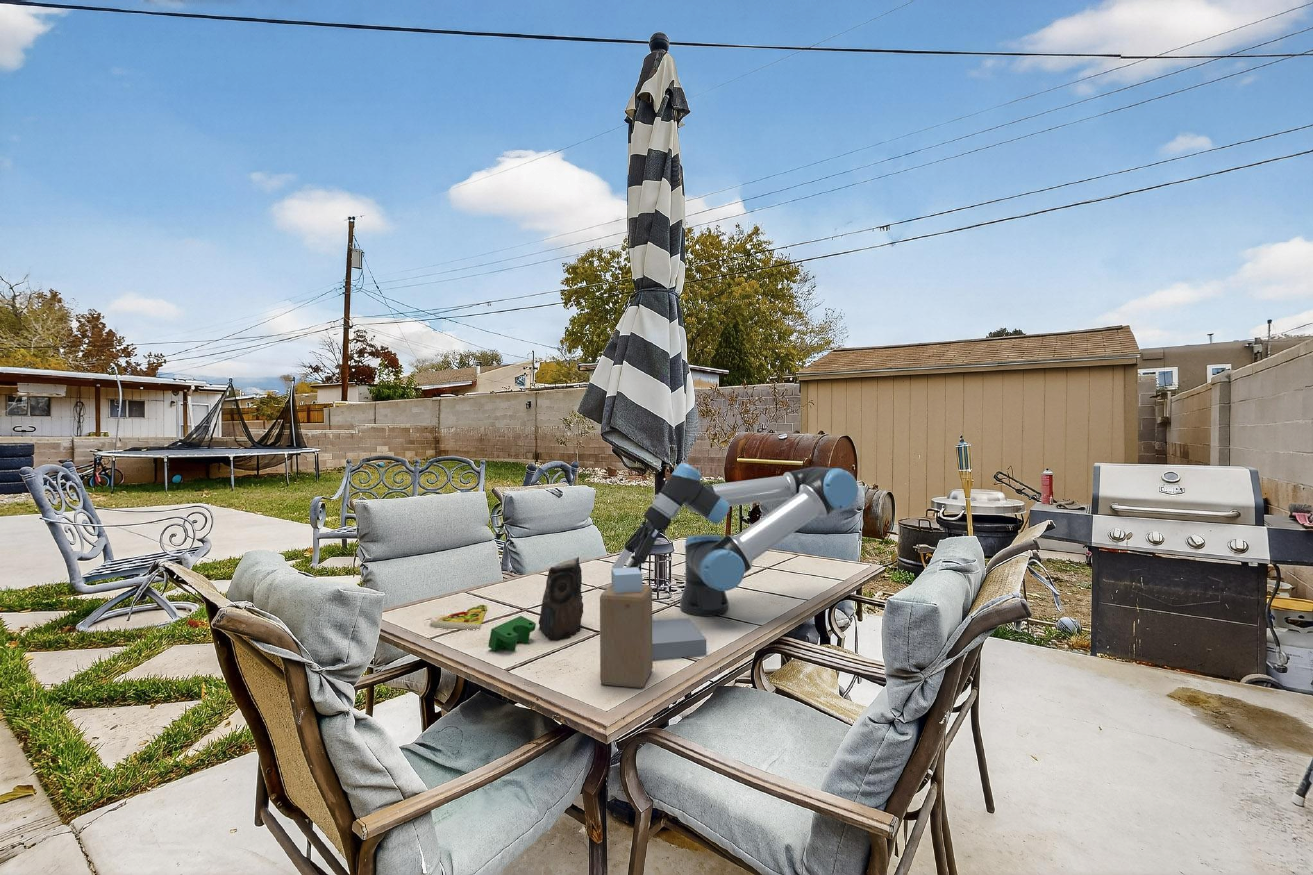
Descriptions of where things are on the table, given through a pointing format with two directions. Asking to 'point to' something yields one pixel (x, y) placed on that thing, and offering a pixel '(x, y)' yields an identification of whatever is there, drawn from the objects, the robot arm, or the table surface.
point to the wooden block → (626, 637)
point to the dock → (676, 639)
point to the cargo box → (626, 580)
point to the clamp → (511, 633)
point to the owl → (562, 601)
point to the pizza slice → (462, 619)
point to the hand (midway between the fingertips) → (618, 575)
